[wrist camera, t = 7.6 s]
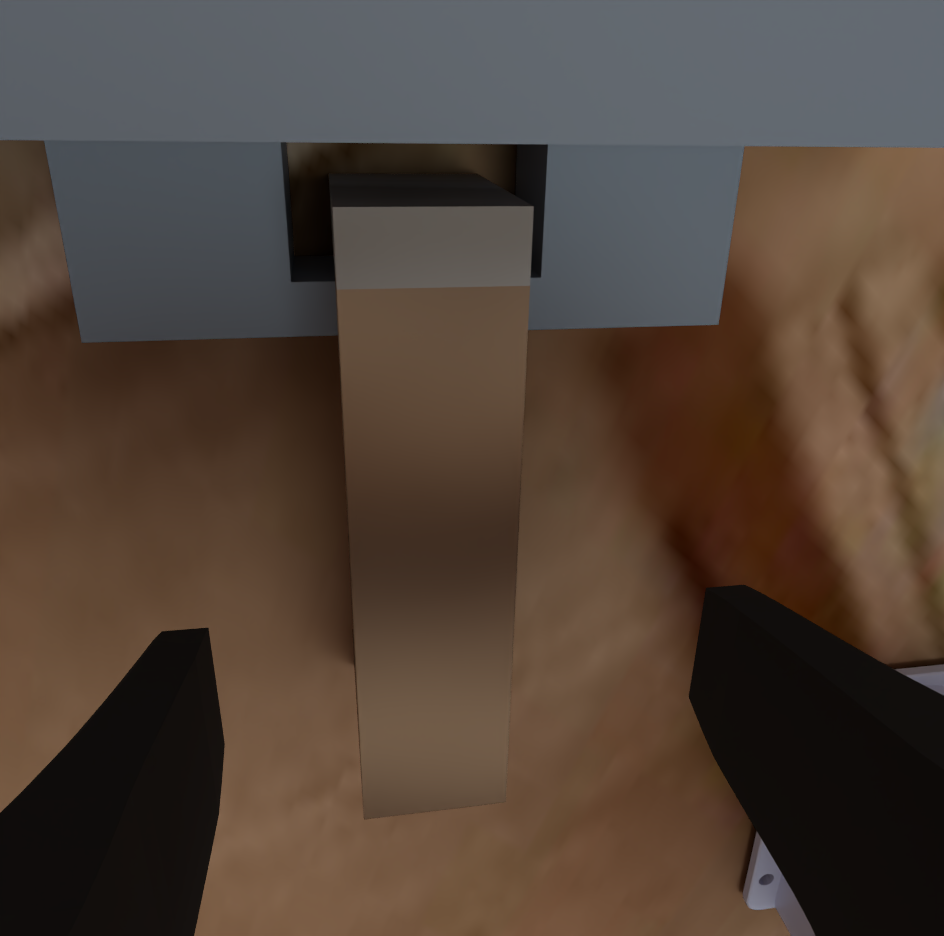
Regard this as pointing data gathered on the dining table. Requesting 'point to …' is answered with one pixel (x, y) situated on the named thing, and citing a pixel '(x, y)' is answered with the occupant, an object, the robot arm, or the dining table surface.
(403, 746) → the wooden arch block
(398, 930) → the dining table surface
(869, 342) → the dining table surface
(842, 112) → the grey slotted stand
